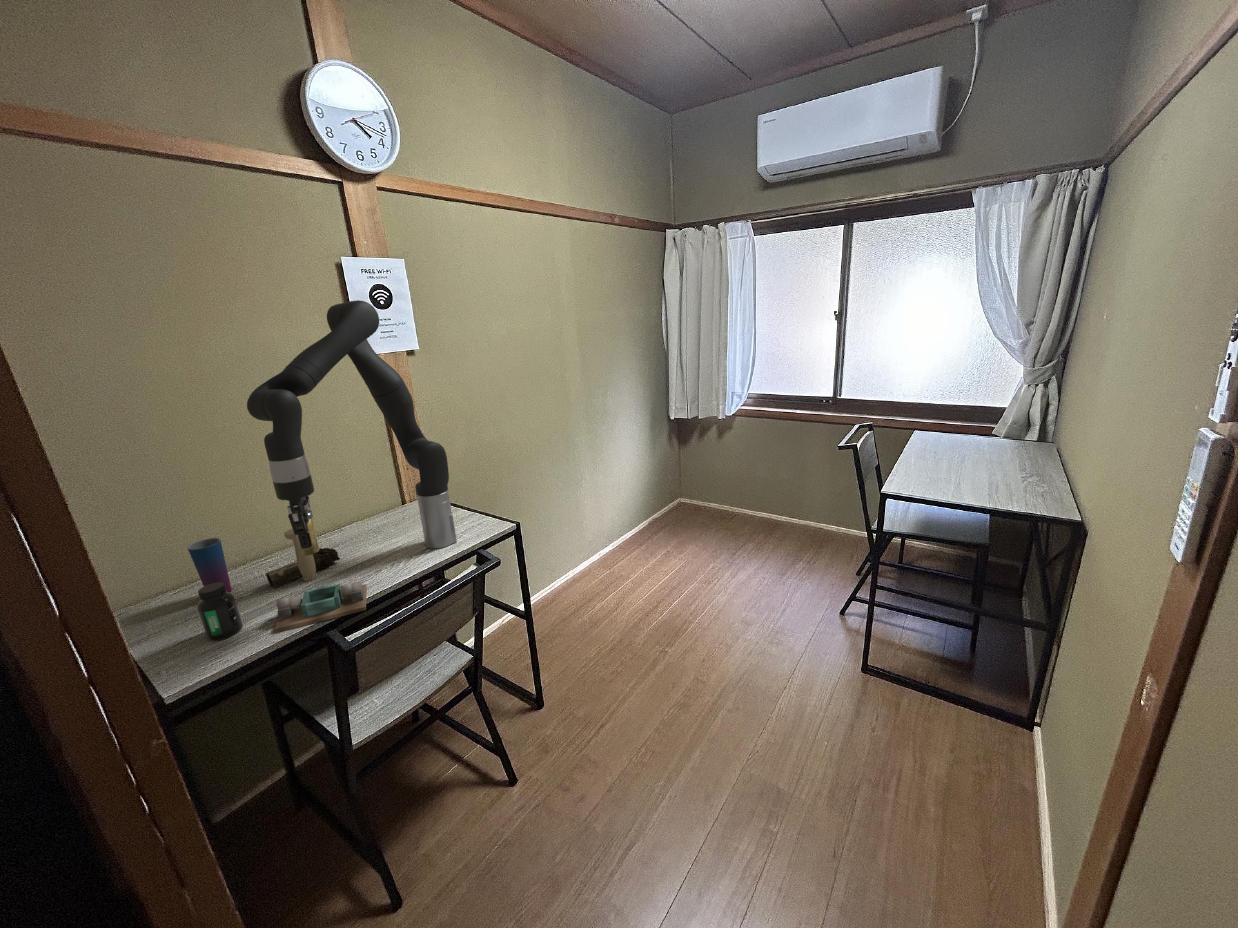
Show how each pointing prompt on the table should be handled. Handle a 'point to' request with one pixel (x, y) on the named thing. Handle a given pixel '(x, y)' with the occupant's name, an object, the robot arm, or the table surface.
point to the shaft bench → (321, 605)
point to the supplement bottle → (218, 612)
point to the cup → (210, 561)
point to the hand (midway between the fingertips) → (308, 543)
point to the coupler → (315, 546)
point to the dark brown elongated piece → (292, 571)
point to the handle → (303, 559)
